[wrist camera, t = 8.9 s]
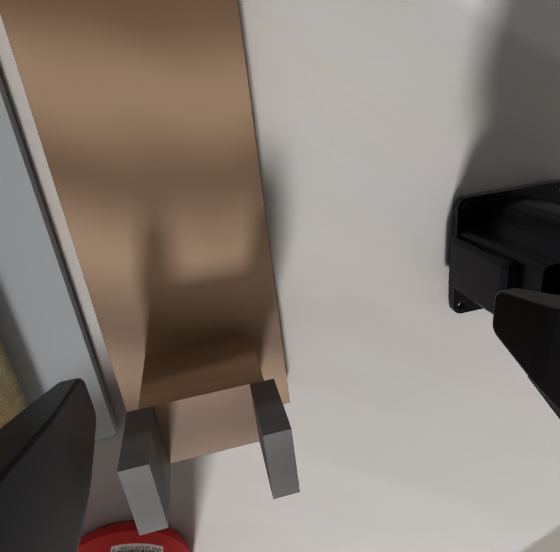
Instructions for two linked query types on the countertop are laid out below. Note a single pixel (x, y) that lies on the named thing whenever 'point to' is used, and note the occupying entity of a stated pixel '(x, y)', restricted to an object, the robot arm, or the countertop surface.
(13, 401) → the rail
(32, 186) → the mat
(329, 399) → the countertop surface
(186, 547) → the canned food
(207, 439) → the stand
